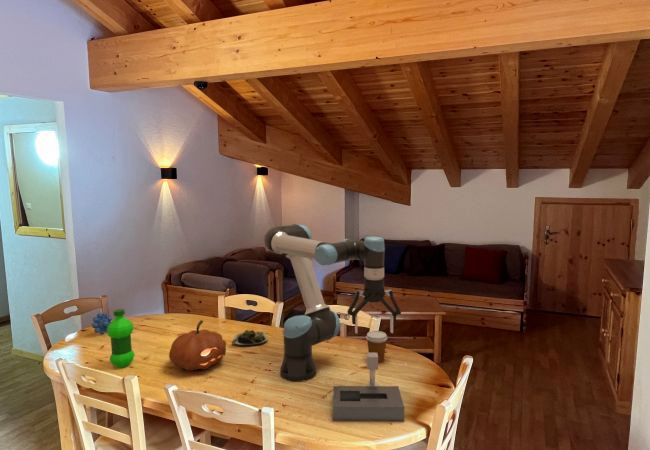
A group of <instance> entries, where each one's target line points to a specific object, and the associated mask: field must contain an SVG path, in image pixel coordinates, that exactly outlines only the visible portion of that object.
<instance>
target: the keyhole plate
mask: <svg viewBox="0 0 650 450" xmlns="http://www.w3.org/2000/svg"><path fill="white" fill-rule="evenodd" d="M332 391H333V392H332V421H333V422H334V421H335V422H336V421H342V422H344V421H345V422H346V421H347V422H348V421H349V422H352V421H353V422H360V421H361V422H405V405H404V401H403V398H402V394H401V391H400V388H399V386H398V385H397V386H395V385H394V386H393V385H391V386H390V385H389V386H388V385H379V386H366V385H333V388H332Z"/></svg>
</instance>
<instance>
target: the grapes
mask: <svg viewBox="0 0 650 450" xmlns="http://www.w3.org/2000/svg"><path fill="white" fill-rule="evenodd" d="M112 321H113V320H112V316H110V315H108V313H107V312H103V313H101V312H99V313H97V314H96V316H94V317H93V318H92V323H91V328H93V330H94V332H95V333H96V334H100V335H105V333H107V328H108V326H109V324H110V323H111V322H112Z"/></svg>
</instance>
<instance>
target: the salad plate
mask: <svg viewBox="0 0 650 450" xmlns="http://www.w3.org/2000/svg"><path fill="white" fill-rule="evenodd" d="M267 342H268V335H267V333H266V332H263V331H254V329H253V330H249V329H246V330H245V331H243V332H241V333H238V334H237V333H236V335H234V337H233V340H232V342H231V345H232V344H233V345H235V346H237V347H240V348H249V347H251V348H252V347H259V346H263V345H265V344H266V343H267Z"/></svg>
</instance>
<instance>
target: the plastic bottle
mask: <svg viewBox="0 0 650 450" xmlns="http://www.w3.org/2000/svg"><path fill="white" fill-rule="evenodd" d="M125 312H126V311H125V309H124V308H120V309H117V308H116V309H114V310H113V316H114V317H115V318H114V319H113V320H111V321H110V322H111V323H110V324H109V326H108V328H107V332H106V334H107V337H109V338H110V345H111V346H110V347H111V348H110V349H111V353H110V357H109V361H110V363H111V364H112V365H113V366H115V367H116V368H118V369H121V368H126V367H128V366H129V365H130V364H131V363H133V360H134V358H135V351H134V350H133V347H132V336H131V334H132V333H133V331H134V324H133V322H132V321H130V320H129V319H127V318H126V317H124V315H125V314H126V313H125Z"/></svg>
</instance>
